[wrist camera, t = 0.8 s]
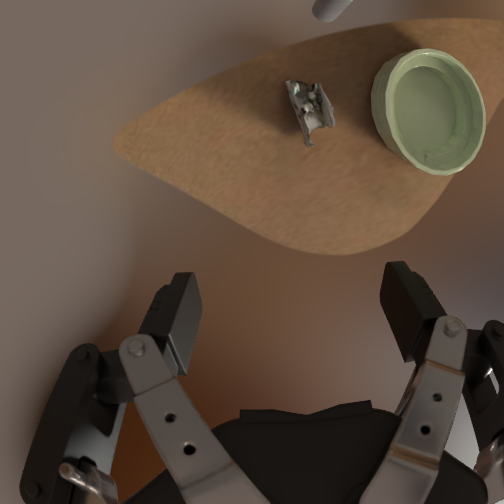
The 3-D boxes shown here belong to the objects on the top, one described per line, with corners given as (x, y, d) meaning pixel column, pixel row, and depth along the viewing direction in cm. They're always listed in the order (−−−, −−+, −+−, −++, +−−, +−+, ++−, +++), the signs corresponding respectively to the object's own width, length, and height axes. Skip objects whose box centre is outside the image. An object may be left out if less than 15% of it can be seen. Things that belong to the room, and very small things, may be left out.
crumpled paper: (303, 145, 31) (313, 156, 25) (280, 83, 28) (284, 77, 22) (337, 136, 31) (354, 144, 25) (315, 73, 27) (328, 66, 21)
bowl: (364, 45, 24) (380, 37, 20) (461, 66, 23) (483, 65, 19) (369, 162, 32) (385, 172, 28) (460, 168, 31) (481, 178, 26)
